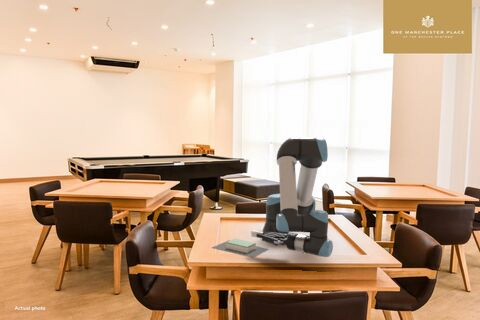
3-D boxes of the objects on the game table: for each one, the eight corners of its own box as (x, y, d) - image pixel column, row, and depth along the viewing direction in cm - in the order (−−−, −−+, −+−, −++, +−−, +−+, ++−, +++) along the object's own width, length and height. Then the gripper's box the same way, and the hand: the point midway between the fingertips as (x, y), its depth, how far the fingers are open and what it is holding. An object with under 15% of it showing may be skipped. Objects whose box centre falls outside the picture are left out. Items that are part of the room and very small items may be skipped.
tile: (255, 242, 183) (235, 238, 190) (247, 246, 177) (226, 242, 183) (255, 248, 184) (235, 244, 190) (247, 253, 177) (226, 248, 183)
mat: (269, 249, 184) (269, 249, 184) (253, 258, 170) (253, 257, 170) (229, 241, 197) (229, 240, 197) (211, 248, 183) (211, 247, 183)
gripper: (290, 254, 161) (244, 244, 174) (302, 247, 172) (258, 238, 185) (291, 237, 161) (245, 228, 173) (303, 231, 172) (259, 223, 184)
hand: (252, 233), depth 179 cm, fingers closed
